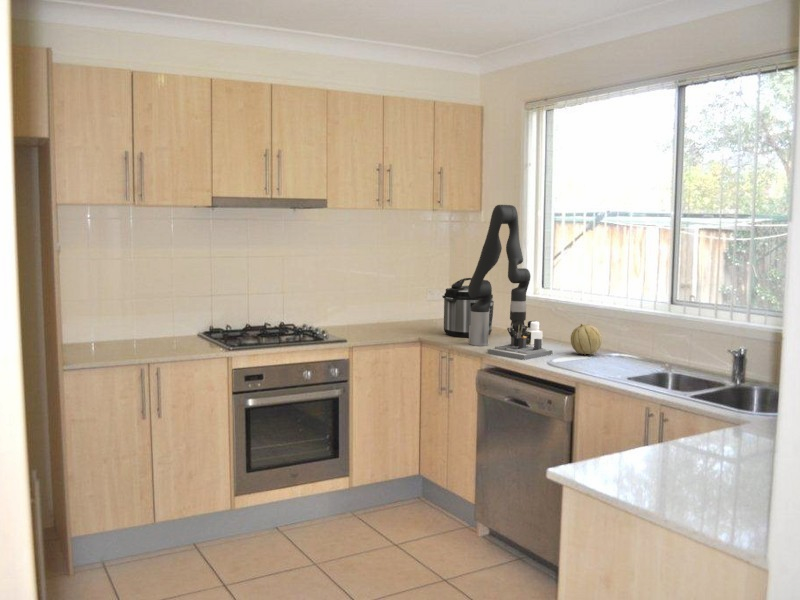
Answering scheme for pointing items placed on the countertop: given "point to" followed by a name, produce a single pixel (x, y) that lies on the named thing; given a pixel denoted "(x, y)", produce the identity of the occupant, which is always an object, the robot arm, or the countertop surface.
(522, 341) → the post
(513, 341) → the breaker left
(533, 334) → the medicine bottle
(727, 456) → the countertop surface
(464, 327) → the pressure cooker
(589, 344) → the cantaloupe
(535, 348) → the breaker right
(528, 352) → the panel
